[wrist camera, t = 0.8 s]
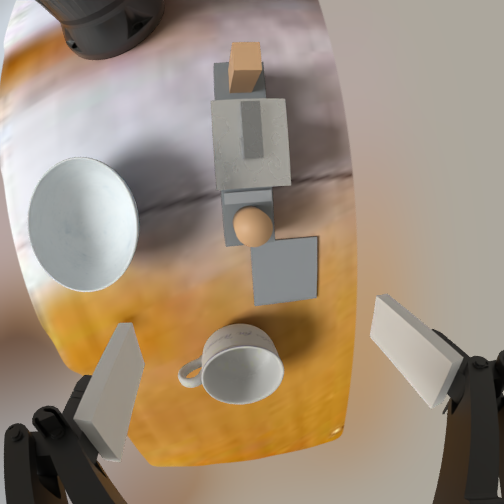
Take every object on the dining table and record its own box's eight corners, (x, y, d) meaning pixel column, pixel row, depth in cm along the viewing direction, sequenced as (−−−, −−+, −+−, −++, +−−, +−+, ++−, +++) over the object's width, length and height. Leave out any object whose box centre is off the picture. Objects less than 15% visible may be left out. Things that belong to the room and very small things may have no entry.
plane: (213, 77, 30) (213, 34, 18) (256, 76, 30) (275, 34, 19) (224, 237, 35) (229, 266, 24) (267, 233, 36) (291, 260, 24)
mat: (250, 242, 36) (250, 242, 36) (316, 236, 37) (317, 236, 37) (254, 304, 38) (254, 306, 38) (315, 296, 39) (316, 297, 39)
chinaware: (56, 165, 30) (25, 165, 22) (154, 156, 32) (137, 151, 24) (63, 269, 33) (36, 288, 26) (156, 271, 35) (142, 294, 28)
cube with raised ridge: (211, 115, 27) (210, 97, 20) (271, 112, 27) (287, 95, 21) (216, 187, 29) (216, 191, 22) (276, 183, 29) (294, 185, 23)
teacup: (276, 314, 39) (290, 344, 32) (269, 371, 42) (279, 405, 35) (179, 313, 37) (172, 345, 30) (183, 371, 40) (179, 406, 33)
